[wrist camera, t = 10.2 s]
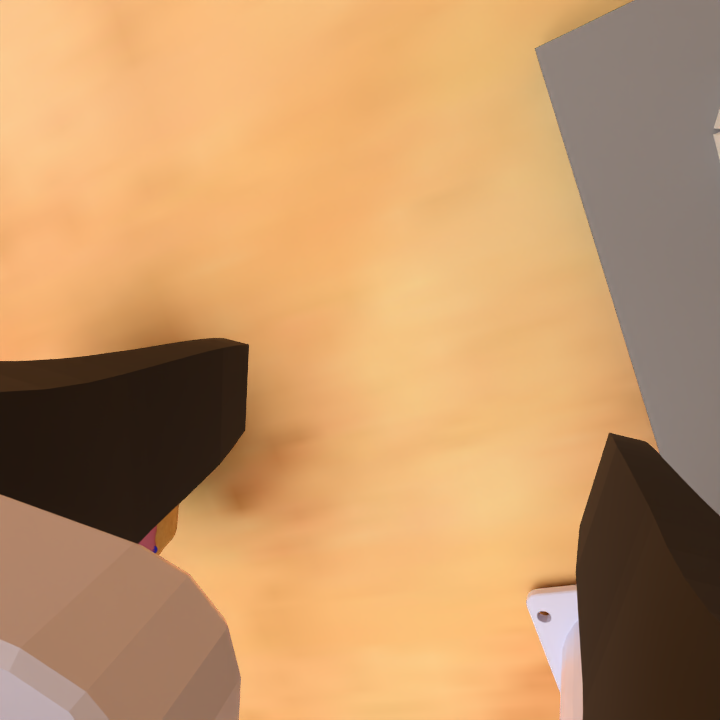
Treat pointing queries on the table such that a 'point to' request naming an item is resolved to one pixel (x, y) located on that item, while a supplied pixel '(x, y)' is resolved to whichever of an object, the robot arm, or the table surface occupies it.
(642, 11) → the duct board
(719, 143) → the sleeve
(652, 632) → the robot arm
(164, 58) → the table surface
